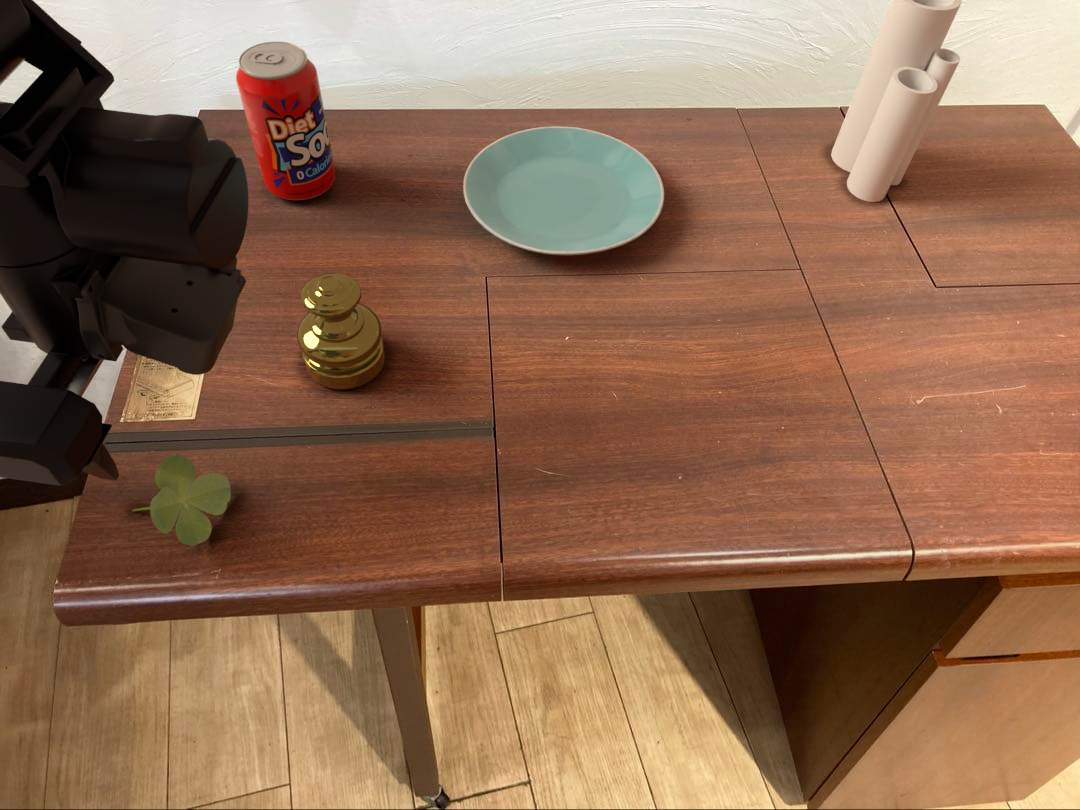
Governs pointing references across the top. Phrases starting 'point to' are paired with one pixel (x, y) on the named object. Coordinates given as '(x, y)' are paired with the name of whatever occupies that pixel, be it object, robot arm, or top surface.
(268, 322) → the top surface
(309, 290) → the brass weight
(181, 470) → the green clover leaf
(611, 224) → the plate
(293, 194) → the soda can
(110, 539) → the top surface
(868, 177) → the vase
